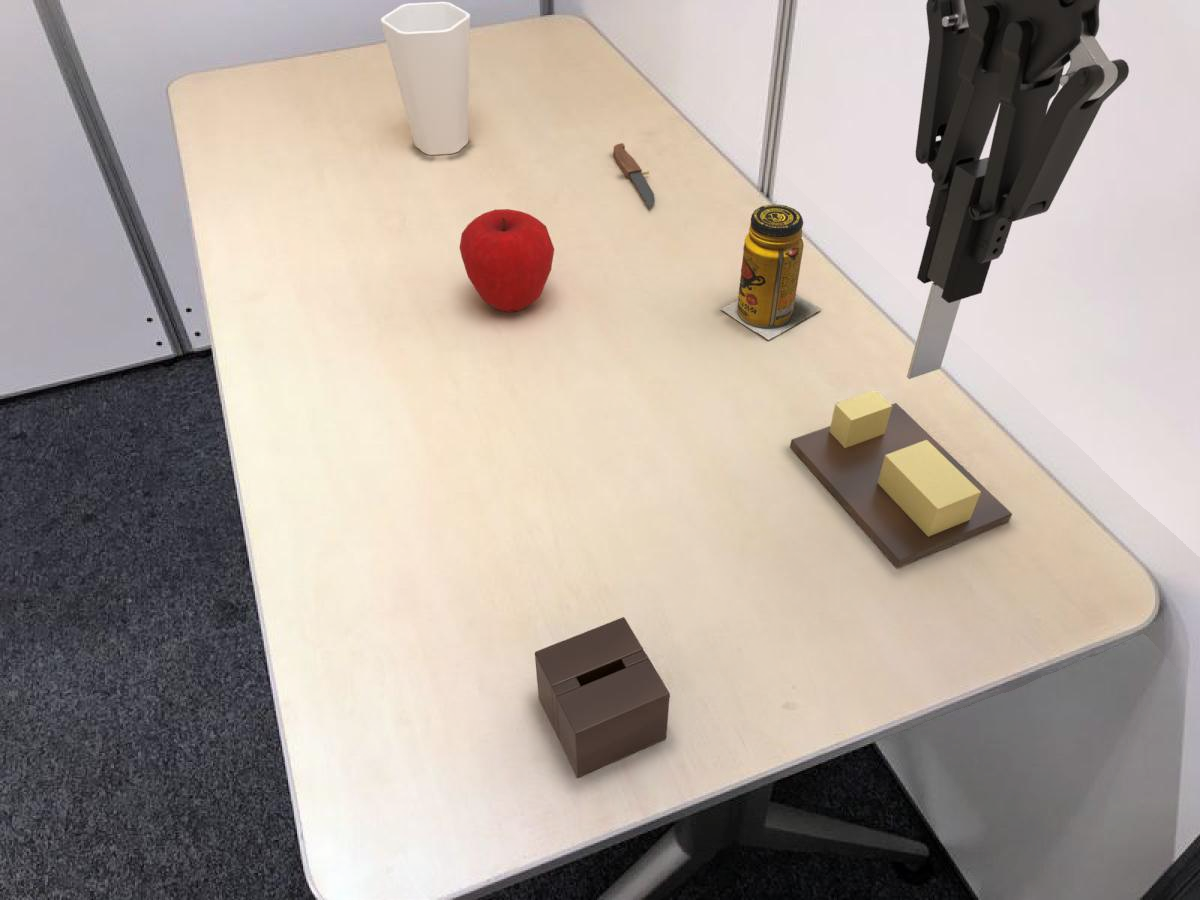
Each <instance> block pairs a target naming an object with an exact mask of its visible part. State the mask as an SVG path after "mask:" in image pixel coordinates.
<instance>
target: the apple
mask: <svg viewBox="0 0 1200 900" xmlns="http://www.w3.org/2000/svg"><path fill="white" fill-rule="evenodd" d="M459 251H460V256H461V259H462V262H463V266H464V269H465V272H466V275H467V278H468V280H469V281H470V283H471V284H472V286H473V288H474V289H475V291H476V293H477V294H478V296H479V297H480V298H481V299H482V301H483V302H484V303H485V304H487V305H489V306H491V307H493V308H495V309H497V310H499V311H501V312H502V311H503V312H507V313H512V312H518V311H520V310H523V309H524V308H526V307H528V306H531V305H532V304H534V303H535V302H536V301H538V300H539V299H540V298H541V295H542V293H543V291H544V289H545V286H546V284H547V281H548V279H549V276H550V273H551V271H552V266H553V262H554V261H553V260H554V255H555V247H554V244H553V242H552V239H551V236H550V233H549V229H548V228H547V225H546V224H544V223H543V222H542V221H541V220H540V219H538V218H536V217H535V216H533V215H532V214H529V213H527V212H524V211H521V210H515V209H510V208H503V209H502V208H501V209H500V208H499V209H494V210H490V211H486V212H484V213H482V214H480V215H479V216H477V217H474V219H473V220H471V221H470V222H469V223H468V224H467V225H466V227H465V228H464V230H463V231H462V232H461V236H460V242H459Z"/></svg>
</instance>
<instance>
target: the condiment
mask: <svg viewBox="0 0 1200 900" xmlns="http://www.w3.org/2000/svg"><path fill="white" fill-rule="evenodd" d="M803 226H804V220H803V216H802V214H801V212H799V211H798V210H797V209H795V208H793V207H790V206H788V205H784V204H766V205H762V206H760V207H758V208H756V209H754V211H753V213H752V214H751V217H750V225H749V227H748V233H747V234H746V235H745V239H744V244H743V250H742V251H743V254H742V262H741V269H740V278H739V288H738V296H737V300H735V301H733V302H732V303H729V304H728V305H725V306H723V307H720V308H719V309H720V310H721V311H723V312H724V313H726V314H727V315H728V316H730V317H731V318H733V319H734V320H736V321H737V322H739V323H740V324H742V325H743V326H745V327H747V328H749V330H751V331H753V332H755V333H756V334H759V335H760V336H761V337H763V338H765V339H766V340H768V341H769V340H772V339H774V338H775V337H777V336H779V335H781V334H782V333H783V332H786V331H788V330H789V329H790V328H793V327H794V326H796V325H798V324H799V323H801V322H803V321H804V320H806V319H808V318H810V317H812V316H814V314H816V313H818V312H820V311H821V310H823V308H822V307H820V306H819V305H815V304H814V303H812V302H810V301H808V300H806V299H804V298H803V297H801V296H799V295H797V289H798V284H799V276H800V271H801V264H802V258H803V253H804V252H803V251H804V247H805V246H804V241H803Z"/></svg>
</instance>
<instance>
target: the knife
mask: <svg viewBox="0 0 1200 900" xmlns="http://www.w3.org/2000/svg"><path fill="white" fill-rule="evenodd" d="M613 156H614V157H613V158H614V159H615V162H616V164H617V165H618V167H619V169H621V171H622V172H623V174H624V176H625V177H626V178H627V179H629V178H630V180H631V181H632V183H633V184H634V186H635V188H636V190H637V191H638V193H639V194H640V196H641V197H642V199H643V200H644V202H645V203H646V205H647V206H648V208H649V209H651V208H652V206H653V204H654V203H655V202H656V199H655V193H654V191H653V190H652V188H651V187H650V184H649V183H648V181H647V179H646V178H645V175H649V174H650V171H649V170H646V171H645V170H644V171H642V168H641V167H640V165H639V164H638V162H637V161H636V160H635V158H634V157H632V155H631V154H630V153H629V152H628V151H627V150H626V146H625V143H623V142H621V143H617V144H615V145H614V146H613Z"/></svg>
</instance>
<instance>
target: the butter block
mask: <svg viewBox="0 0 1200 900" xmlns="http://www.w3.org/2000/svg"><path fill="white" fill-rule="evenodd" d="M877 483H878V484H879V485H880V486H881V487H882V488H883V489H884V490H885V492H886V493H887V494H888V495H889V496H890V497H891V498H892V499H893V500H894V501H895V502H896V503H897V504H898V505H899V506H900V507H901V509H902V510H903V511H904V512H905V513H906V514H907V515H908V516H909V517H910V518H911V519H912V520H913V521H914V522H915V523H916V524H917V526H918V527H919V528H920V529H921V530H922V531H923V532H924V533H925V534H926V535H927V536H928V537H929V536H932V535H934V534H936V533H939V532H941V531H944V530H946V529H949V528H951V527H954V526H956V525H958V524H961V523H963V522H966V521H968V520H970V519H971V516H972V514H973V511H974V508H975V506H976V503H977V501H978V498H979V496H980V493H981V491H979V490H978V489H977V488H976V487H975V486H974V485H973V484H972V483H971V482H970V481H969V480H968V479H967V478H966V477H965V476H964V475H963V474H962V473H961V472H960V471H959V470H958V469H957V468H956V467H955V466H954V465H952V464H951V463H950V462H949V461H948V460H947V459H946V458H945V457H944V456H943V455H942V454H941V453H940V452H939V451H938V450H937V449H936V448H935V447H934V446H933V445H932V444H931V443H930V442H929V441H928V440H924V441H922V442H919V443H916V444H914V445H911V446H908V447H906V448H903V449H900V450H898V451H895V452H892V453H889V454H887V455H885V458H884V461H883V465H882V468H881V472H880V475H879V479H878V482H877Z"/></svg>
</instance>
